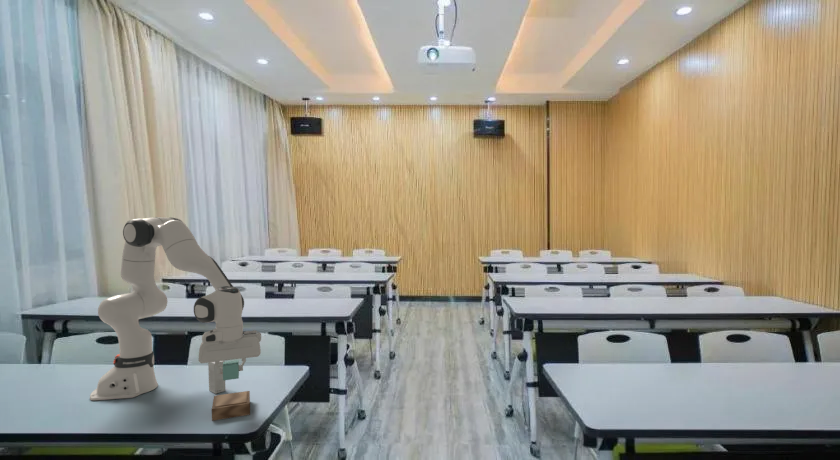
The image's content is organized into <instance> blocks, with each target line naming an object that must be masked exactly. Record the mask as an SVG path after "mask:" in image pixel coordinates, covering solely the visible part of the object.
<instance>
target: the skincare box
mask: <svg viewBox="0 0 840 460" xmlns="http://www.w3.org/2000/svg"><path fill="white" fill-rule="evenodd" d="M223 362H226V360H225V361H220V362H219V365H220V367H223ZM207 365H208V369H207V370H208V391H210V392H211V393H212V394H215V395H218V394H219V393H223V392H226V380H223V373H221V374H219V369H218V368H217V367H216V366H215V362H209V363H207Z"/></svg>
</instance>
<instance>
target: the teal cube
mask: <svg viewBox="0 0 840 460" xmlns="http://www.w3.org/2000/svg"><path fill="white" fill-rule="evenodd" d="M239 360H240V359H234V360H226V361H225V362H223V380H225V381H231V380H237V379H240V377H239V376H240V371H239V368H238V366H239V365H240V362H239Z"/></svg>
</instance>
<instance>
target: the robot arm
mask: <svg viewBox="0 0 840 460" xmlns="http://www.w3.org/2000/svg"><path fill="white" fill-rule="evenodd" d="M122 235H123V239H124V244H123V245H124V246H123V249H122V258H121V270H120V278H121V279H122V280H123V282H125V283H126V284H129V285H131V288H132V291H131V292H128V293H127V292H126V293H122V294H115V295H113V296H110V297H108V298H105V299H103V300H102V301H101V302H100V304H99V306H98V309H97V314H98V317H99V319H100V320H101V321H102V322H103V323H104V324H107V326H110V327H111V328H112V329H113V330H114V332H115V333H116V336H117V340H118V348H119V349H118V350H119V354H116V355H115V356H114V359H113V367H111V368H110V369H109V370H108V371H107V372H106V373H105V374H103V375H102V376H101V377H100V378H99V379H98V382H97V386H96V388H95V389H94V390H93V391H92V392H91V393H90V395H89V399H90V401H106V400H115V399H116V400H117V399H119V400H120V399H132V398H136V397H138V396H140V395H142V394H146V393H149V392H150V391H153V390H155V389H157V388H158V386H159V382H158V381H157V380H158V379H157V378H156V375H155V374H156V373H155V368H154V365H155V355H154V354H155V353H154V351H153V339H152V338H153V336H152V333H151V332H150V330H148V329H147V328H144V327H141V326H140V322H139V320H141V319H145V318H146V319H147V318H151V317H153V316H155V315H157V314H160V313H162V312H164V311H165V310H166V308H167V306H168V297H167V295H166V293H165V292H164V291H162V290H161V289H160V288H159V287H158V286H157V283H156V280H155V266H156V265H155V264H156V250H157V248H158V247H159V246H161V247H162V249H163V251H164V253H165V256H166V257H167V260H168V261H169V263H170V264H171V265H172V266H173V267H174V268H175V269H177V270H179V271H183V272H187V273H193V274H198V275H200V276H203V277H205V279H207V280H208V282H209V283H210V284H211V286H212V288H213V289H214V291H213V292H210V294H206V295H204V296H201V297H198V298H197V299H196V300H195V302H194V305H193V314H194V317H195V319H196V320H197V321H199V322H200V323H204V324H205V323H206V324H207V323H212V322H214V323H215V328H214V329H211V330H207V331H205V332H204V333H202V336H201V344H200V346H199V350H198V363H200V364H205V363H206V364H208V363H209V362H215V366H216V367H217V368H218V369H219V374H221V373H223V367H220V365H219V362H220V361H225V362H226V361H235V360H241V364H239V366H238V368H239V372H242V371H244V366H245V363H246V361H247V359H248V358H249V359H250V358H257V357H259V356H261V353H262V351H261V344H260V342H262V333H261V332H260V331H257V330H255V329H254V330H245V331H244V325H243V324H244V321H243V317H242V314H243V310H244V307H245V299H244V297H243V295H242V293H241V291H240V289H239V288H238V287H236V286H234V285H233V284H232V282H231V281H230V280H229V278H228V277H227V275H226V273H224V271H223V270H222V268H221V266H219V264H218V263H217V262H216V260H215V259H214V258H213V257H211V256H210V255H208V254H207V253H206V252H205V251H204V250H203V249H202V248H201V247H200V245H199V243H198V242H197V240H196V238H195V236H194V234H193V233H192V231H191V230H190V228H189V227H188V226H187V225H186V224H185V222H184V221H183V220H181V219H180V218H176V217H161V216H159V217H158V216H155V217H154V216H153V217H146V218H145V217H144V218H140V217H138V218H133V219H130V220H128V221H127V222H125V225H124V227H123V230H122Z"/></svg>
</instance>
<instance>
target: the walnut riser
mask: <svg viewBox="0 0 840 460" xmlns="http://www.w3.org/2000/svg"><path fill="white" fill-rule="evenodd" d="M250 394H251V392H250V390H245V391H238V392H231V393H225V394H215V395H213V400H212V405H211V421H212V422H213V421H218V420H226V419H232V418H238V417H243V416H251V395H250Z"/></svg>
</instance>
